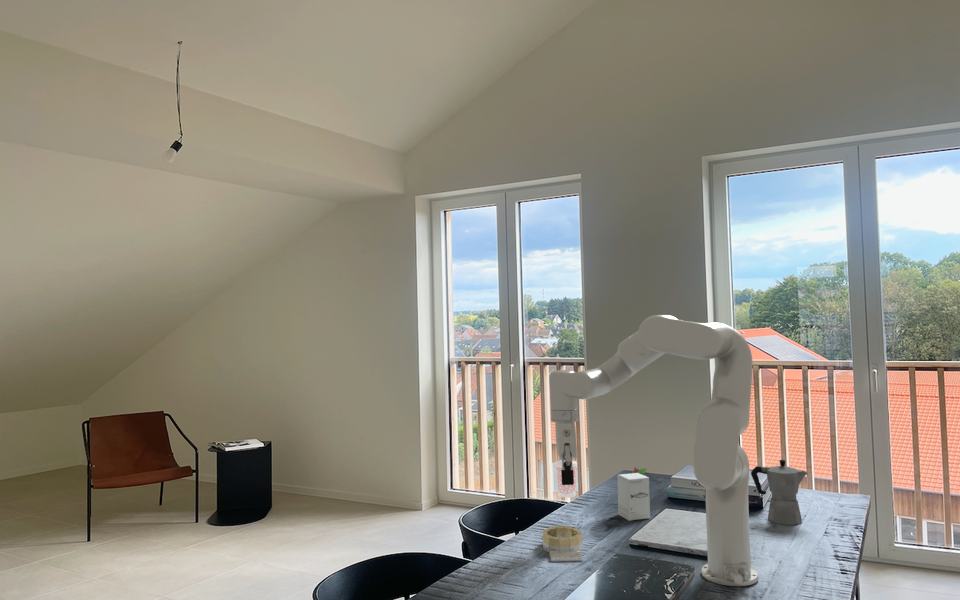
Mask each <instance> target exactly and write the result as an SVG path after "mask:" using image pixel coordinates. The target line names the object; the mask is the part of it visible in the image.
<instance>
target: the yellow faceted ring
mask: <svg viewBox="0 0 960 600" xmlns="http://www.w3.org/2000/svg"><path fill="white" fill-rule="evenodd" d="M557 535H566V536H572V537H568V538H558V537H552V536H557ZM543 542H544V543H546V544H548V545H550V546H556V547H571V546H575V545H579V544H580V543H581V542H582V543H583V533H582V531H581V530H580V529H578V528H576V527H572V526H571V525H567V526H566V525H562V526H561V525H560V526H557V525H555V526H554V525H553V526H552V525H551V526H549V527H548V528H545V529H544V530H542V543H543Z"/></svg>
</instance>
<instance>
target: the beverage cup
mask: <svg viewBox="0 0 960 600" xmlns="http://www.w3.org/2000/svg"><path fill="white" fill-rule="evenodd" d="M564 462H565V461H564ZM572 465H573V473H574V484H573V485H562V476H561V470H562V460H560V459H559V460H556V461H555V462H554V466H555V471H556V481H557V492H558V497H560V498H564V499H565V498H566V499H567V498H575V497H576V496H577V495H576V493H577V492H576V491H577V466H578V462H577V460H572Z"/></svg>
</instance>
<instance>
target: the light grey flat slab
mask: <svg viewBox="0 0 960 600" xmlns="http://www.w3.org/2000/svg"><path fill="white" fill-rule="evenodd" d="M552 537H558V538H568V537H572V536H566V535H557V536H552ZM542 548H543V551H545V552H548V553H549V557H550V558H549V559H550V562H554V563H555V562H558V563H559V562H583V559H584V558H583V555H582V553H581V551H582V550H583V548H584V547H583V541H582V542H581V543H580V544H579V545H575V546H571V547H556V546H550V545H548V544H546V543H544V542H543V541H542Z"/></svg>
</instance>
